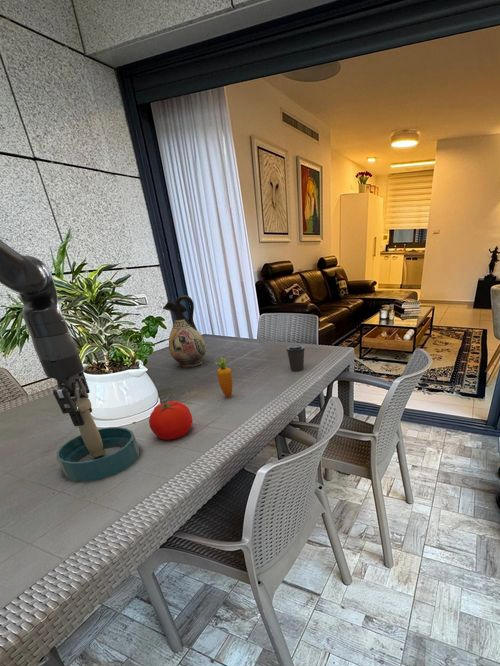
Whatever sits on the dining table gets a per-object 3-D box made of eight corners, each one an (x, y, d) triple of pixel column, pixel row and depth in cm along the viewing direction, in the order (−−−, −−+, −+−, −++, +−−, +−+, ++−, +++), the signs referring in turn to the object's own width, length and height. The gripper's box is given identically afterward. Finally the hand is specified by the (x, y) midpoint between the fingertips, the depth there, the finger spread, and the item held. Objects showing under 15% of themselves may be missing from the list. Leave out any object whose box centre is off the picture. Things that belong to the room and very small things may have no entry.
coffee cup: (299, 373, 145) (297, 349, 140) (283, 370, 149) (281, 347, 144) (310, 367, 151) (309, 344, 146) (294, 364, 155) (293, 342, 150)
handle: (108, 446, 96) (89, 396, 89) (108, 457, 91) (89, 405, 84) (88, 451, 94) (67, 400, 87) (87, 463, 89) (65, 410, 82)
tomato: (176, 422, 111) (168, 392, 105) (203, 430, 106) (197, 399, 101) (144, 440, 101) (134, 408, 96) (172, 449, 97) (163, 416, 92)
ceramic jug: (171, 372, 152) (153, 299, 137) (175, 361, 165) (159, 293, 150) (211, 367, 155) (198, 296, 140) (212, 357, 168) (200, 291, 154)
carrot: (232, 402, 123) (225, 360, 115) (219, 401, 123) (211, 360, 116) (238, 396, 127) (231, 356, 120) (225, 395, 128) (217, 355, 120)
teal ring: (55, 490, 83) (45, 469, 80) (77, 452, 97) (69, 433, 94) (134, 475, 87) (127, 455, 84) (144, 441, 101) (138, 422, 98)
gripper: (50, 346, 85) (75, 409, 93) (25, 365, 73) (56, 435, 81) (85, 343, 86) (107, 405, 95) (66, 361, 74) (93, 429, 82)
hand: (83, 418), depth 88 cm, fingers closed on handle, 6 cm apart
